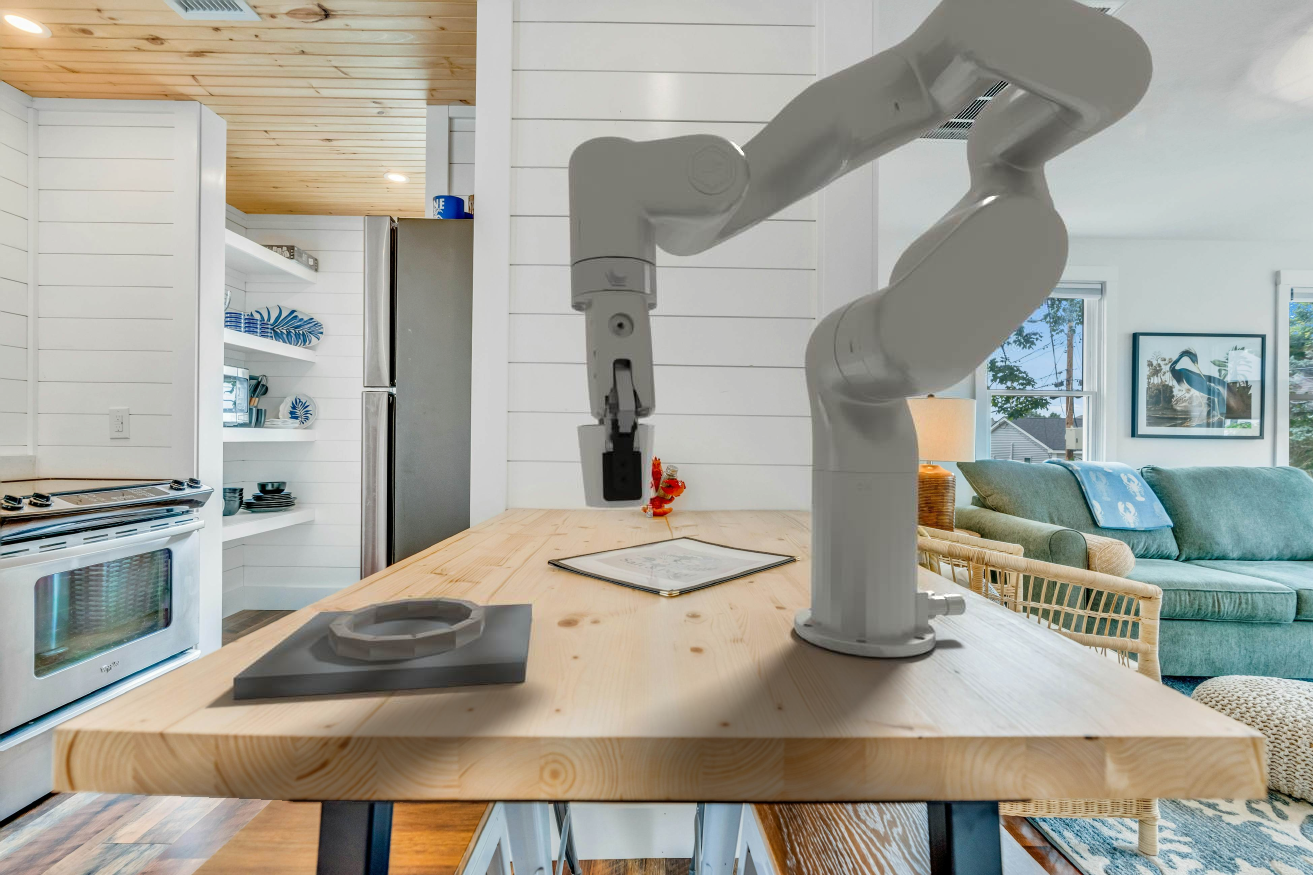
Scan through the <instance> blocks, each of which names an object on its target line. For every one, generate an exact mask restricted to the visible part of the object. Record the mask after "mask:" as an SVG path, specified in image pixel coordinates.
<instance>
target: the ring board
mask: <svg viewBox="0 0 1313 875" xmlns="http://www.w3.org/2000/svg"><path fill="white" fill-rule="evenodd" d="M532 614H533V603H516V604H493V605H492V604H490V605H488V604H487V605H486V604H485V605H480V604H477V603H476V602H473V601H472V600H466V599H459V598H450V597H443V596H441V597H420V598H419V597H418V598H416V597H414V598H411V597H410V598H403V599H397V600H391V601H386V602H385V601H384V602H379V603H372V604H369V605H366V606H363V607H359V608H356V609H354V610H339V611H337V610H336V611H320V612H319V613H318V614H315V615H314V616H313V617H312V618H311V619H309V620H308V621H307V622H305V623H304V624H303V625H301V626H300V627H299V628H297V629H296V630H295V631H293V632H292V633H291V634H290V635H288V636H287V637H286V638H284V639H283V640H282V641H280V642H279V643H277V645H275V646H274V647H272V648H271V649H270V650H268V651H267V652H266V653H264V654H263V655H262V656H261V657H259V658H258V659H256V660H255V661H253V662H252V663H251V664H250V665H248V666H247V667H246V668H244V670H242V671H241V672H239V673H238V674H237V675H235V676H234V677H233V684H232V686H233V689H232V691H233V693H232V697H233V698H232V699H233V700H246V699H260V698H278V697H280V698H281V697H293V696H294V697H295V696H296V697H297V696H309V695H311V696H312V695H325V694H328V695H329V694H343V693H361V692H363V693H364V692H375V691H376V692H377V691H392V690H410V689H424V688H426V689H427V688H440V687H456V686H460V687H461V686H474V685H475V686H476V685H489V684H507V683H509V684H510V683H523V682H526V676H527V665H528V658H529V649H530V639H531V629H532V621H533V615H532Z"/></svg>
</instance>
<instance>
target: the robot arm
mask: <svg viewBox="0 0 1313 875" xmlns="http://www.w3.org/2000/svg"><path fill="white" fill-rule="evenodd" d="M1153 69H1154V67H1153V59H1152V54H1151V51H1150V48H1149V46H1148V45H1147V43H1146V41H1145V40H1144V38H1143V37H1142V36H1141V35H1140V34H1139V32H1137V31H1136V29H1134V28H1133V27H1132V26H1131V25H1129V24H1127V23H1126V22H1124V21H1123V20H1122V19H1119V18H1117V17H1115V16H1113V15H1110V14H1108V13H1106V12H1103V11H1101V10H1098V9H1096V8H1093V7H1091V6H1088V5H1086V4H1084V3H1082V2H1079V1H1076V0H941V2H940V3H939V4H938V5H937V6H936V7H935V8H934V9H933V10H932V12H931V13H930V14H929V15H928V16H927V17H926V18H925V19H924V20H923V21H922V23H921V24H920V25H919V26H918V27H917V28H916V29H915V30H914V32H913V33H912V34H910V35H909V36H908V37H907V38H905V39H903V40H902V41H901V42H899V43H897V44H895V45H893V46H891V47H889V48H887V49H884V50H883V51H881V52H878V53H877V54H874V55H873V56H870V57H868V58H866V59H864V60H862V61H860V62H857V63H855V64H853V65H850V66H849V67H847V68H845V69H842V70H839V71H837V72H835V73H833V74H830V75H828V76H826V77H824V78H821V79H820V80H817V81H815V82H814V83H812V84H810V85H809V86H808V87H807V88H805V89H804V90H802V91H801V92H800V93H799V94H798V95H796V96H795V97H794V98H793V99H792V100H790V101H789V102H788V103H787V104H786V105H784V107H783V108H782V109H781V110H780V111H779V112H778V113H777V114H776V115H775V116H774V117H773V118H772V119H771V120H770V121H769V123H767V125H765V126H764V127H763V128H762V129H761V130H760V131H759V132H758V133H757V134H755V135H754V137H752V138H751V139H750V140H748V141H747V142H746V143H745V144H743V145H742V146H741V147H739V146H737V145H736V143H734V142H733V141H731V140H729V139H728V138H725V137H723V136H719V135H716V134H709V133H708V134H707V133H700V134H699V133H698V134H688V135H687V134H686V135H680V136H673V137H668V138H660V139H653V140H642V141H635V140H632V139H629V138H626V137H621V136H598V137H594V138H591V139H587V140H586V141H584V142H582V143H581V144H579V145H578V146H577V147H576V148H574V149H573V151H572V153H571V155H570V158H569V162H568V172H567V174H568V207H569V208H568V212H569V214H568V215H569V258H570V259H569V260H570V264H569V265H570V267H569V268H570V295H571V296H570V298H571V299H570V304H571V306H570V307H571V308H572V309H571V310H575V312H578V313H583V314H585V315H584V318H585V320H584V321H585V322H584V323H585V351H586V353H585V354H586V358H585V359H586V370H587V371H586V372H587V373H586V374H587V376H586V377H587V388H588V400H589V406H590V407H589V408H590V415H591V417H592V418H594V419H596V420H597V424H604V425H605V449H606V453H602V470H603V498H604V499H605V500H606V501H631V500H640V499H641V498H642V461H641V452H639V451H640V438H639V425H638V424H639V420H641V419H647V418H650V417H651V416H652V415H653V414H654V413H655V411H656V390H655V375H654V374H655V373H654V356H653V339H652V329H651V328H652V327H651V320H650V319H651V317H650V311H653V310H655V309H657V306H658V296H657V295H658V293H657V292H658V291H657V290H658V288H657V285H658V284H657V247H658V248H659V249H661V250H662V251H663V252H665V253H667V254H670V255H672V256H676V257H691V256H696V255H699V254H702V253H703V252H705V251H709V250H711V249H712V248H714V247H717V246H718V245H721V244H722V243H725V242H727V241H729V240H731V239H733V238H734V237H737V236H738V235H740V234H742V233H745V232H746V231H748V230H750V229H753V227H755V226H757V225H760V224H762V223H763V222H764V221H766V220H768V219H770V218H772V217H774V215H776V214H778V213H780V212H782V211H783V210H785V209H786V208H789V207H790V206H792V205H794V204H796V203H797V202H799V201H802V200H803V199H805V198H807V197H809V196H811V195H814V194H815V193H817V192H819V191H820V190H823V189H824V188H825V187H827V186H829V185H831V184H832V183H834V182H835V181H836V180H838V179H839V178H842V177H843V176H846V175H847V174H849V173H851V172H853V171H856V170H857V169H859V168H861V167H863V166H864V165H867V164H868V163H869V164H870V162H872V161H874V160H876V159H879V158H880V157H883V156H884V155H887V154H889V153H891V152H893V151H895V150H897V149H898V148H900V147H904V146H905V145H907V144H910V143H911V142H913V141H915V140H917V139H919V138H921V137H923V136H925V135H927V134H929V133H931V132H934V131H935V130H936V129H939V128H940V127H942V126H944V125H945V124H947V123H948V122H949V121H951V120H952V119H954V118H955V117H956V116H958V115H959V114H960V113H962V112H963V111H964V110H965V109H967V108H968V107H969V106H970V105H972V104H973V103H974V102H975V101H976V100H978V99H979V98H980V97H982V96H984V94H985V93H987V91H989V90H991V89H992V88H993V87H994V86H996V84H998V83H999V82H1001V81H1003V82H1005V83H1007V84H1008V85H1006V86H1005V87H1004V88H1003V89H1001V90H1000V91H998V93H996V94H995V95H994V96H993V97H992V98H991V99H990V100H988V101H987V103H986V104H985V105H984V106H983V107H982V109H981V110H980V111H979V112H978V114H977V116H976V117H975V119H974V120H973V122H972V125H971V127H970V129H969V133H968V136H967V142H966V158H967V160H966V161H967V166H968V170H969V175H970V176H969V177H970V188H969V189H968V191H967V192H966V193H965V194H964V195H963V196H962V198H961V199H959V201H958V202H957V203H955V205H953V207H951V208H950V209H949V210H948V211H947V212H946V213H945V214H944V215H942V217H941V218H939V220H937V221H936V222H935V223H933V225H932V226H931V227H930V228H928V229H927V230H926V231H924V233H922V234H921V235H920V236H919V237H918V238H916V239H915V240H914V241H913V242H911V243H910V244H909V246H908V247H907V248H906V249H905V250H904V251H903V252H902V254H901V255H900V257H898V260H896V263H895V264H894V266H893V268H892V271H891V274H890V277H889V280H888V285H887V286H886V287H883V288H880V289H878V290H876V291H874V292H872V293H869V294H867V295H864V296H861V297H859V298H857V299H855V300H853V301H850V302H848V303H845V304H843V305H842V306H839V307H838V308H836V309H834V310H833V311H831V312H830V313H829V314H828V315H826V316H825V317H824V318H822V320H820V322H819V323H818V324H817V325H816V327H815V328H814V329H813V331H812V333H811V334H810V337H809V339H808V342H807V345H806V350H805V354H804V373H805V381H806V388H807V394H808V400H809V406H810V409H809V410H810V415H811V416H810V417H811V436H812V438H811V439H812V443H811V445H812V447H811V448H812V450H811V451H812V460H811V461H812V463H811V464H812V466H811V467H812V469H811V528H810V529H811V532H810V533H811V541H810V543H811V544H810V545H811V546H810V547H811V548H810V549H811V552H810V555H811V556H810V607H808V608H804V609H802V610H800V611H799V612H797V613H796V614H795V616H794V618H793V622H794V625H793V626H794V627H793V628H794V630H795V632H796V634H797V635H799V636H800V637H801V638H802V639H804V640H805V641H807V642H809V643H811V644H814V645H816V646H818V647H821V648H824V649H827V650H829V651H830V650H831V651H835V652H838V653H843V654H849V655H855V656H861V657H872V658H904V657H905V658H907V657H913V656H917V655H922V654H924V653H927V652H929V651H931V650H932V649H933V648H934V647H935V646H936V643H937V641H936V639H937V638H936V637H937V636H936V632H937V631H936V630H935V629H934V627H933V626H932V625H931V624H929V620H930V621H931V620H934V619H935V618H936V617H937V616H939V615H940V616H945V617H946V616H947V617H949V616H962V615H964V614H965V613H966V610H967V609H966V608H967V605H966V602H965V599H964V598H963V596H962V595H960V594H958V593H956V594H954V593H953V594H939V595H935V593H934V591H932V590H927V591H926V590H924V589H922V588H919V587H918V586H919V584H918V583H919V582H918V581H919V580H918V574H919V573H918V572H919V571H918V570H919V568H918V567H919V566H918V565H919V563H918V562H919V560H918V558H919V548H918V547H919V546H918V545H919V472H920V454H919V453H920V450H919V442H918V440H919V439H918V433H917V429H916V425H915V421H914V419H913V415H912V413H911V409H910V406H909V403H908V400H907V398H914V397H921V396H927V395H932V394H936V393H939V392H942V391H945V390H947V389H950V388H952V387H953V386H956V385H957V384H959V383H961V381H963V380H964V379H966V378H967V377H968V376H969V375H971V374H972V373H973V372H974V371H976V370H977V369H978V368H979V367H980V366H981V365H982V364H983V363H984V362H985V361H987V359H989V357H990V356H991V355H993V353H995V352H996V350H998V349H999V348H1000V346H1002V345H1003V344H1004V343H1005V342H1006V341H1007V340H1008V339H1009V338H1010V337H1011V336H1012V335H1013V334H1014V333H1015V332H1016V331H1017V330H1018V329H1019V328H1020V326H1022V325H1023V324H1024V323H1025V322H1026V321H1027V320H1028V319H1029V318H1030V317H1031V316H1032V315H1033V314H1034V313H1035V312H1036V311H1037V310H1038V309H1039V308H1040V307H1041V306H1042V304H1043V303H1044V302H1045V301H1046V300H1048V298H1049V297H1050V296H1051V295H1052V293H1053V292H1054V290H1055V289H1056V287H1057V286H1058V284H1059V283H1060V281H1061V278H1062V276H1063V273H1064V271H1065V268H1066V266H1067V263H1068V262H1067V261H1068V257H1069V246H1070V245H1069V235H1068V230H1067V226H1066V224H1065V221H1064V219H1063V218H1062V216H1061V214H1060V212H1058V211H1057V210H1056V207H1055V204H1054V200H1053V198H1052V196H1051V194H1050V190H1049V189H1050V188H1049V186H1048V183H1047V178H1046V174H1045V165H1046V163H1047V162H1049V161H1051V160H1052V159H1054V158H1056V157H1058V156H1060V155H1061V154H1063V153H1065V152H1066V151H1068V150H1070V149H1071V148H1074V147H1075V146H1077V145H1079V144H1081V143H1083V142H1084V141H1086V140H1088V139H1090V138H1091V137H1093V136H1095V135H1097V134H1098V133H1101V132H1102V131H1104V130H1106V129H1108V128H1109V127H1112V126H1113V125H1115V124H1116V123H1117V122H1119V121H1120V120H1122V119H1123V118H1124V117H1126V116H1127V115H1129V113H1132V111H1133V110H1134V109H1135V108H1136V107H1137V106H1138V105H1139V104H1140V102H1141V101H1142V100H1143V98H1144V96H1145V95H1146V94H1147V92H1148V89H1149V87H1150V84H1151V82H1152V79H1153V72H1154V70H1153ZM612 430H613V435H612Z"/></svg>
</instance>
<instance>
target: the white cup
mask: <svg viewBox="0 0 1313 875" xmlns="http://www.w3.org/2000/svg"><path fill="white" fill-rule="evenodd" d="M638 425H639V438H640V451H639V452H641V461H642V498H641V499H640V500H631V501H606V500H605V499H604V498H603V470H602V453H606V449H605V425H604V424H598V423H597V424H583V425H579V426H577V427H576V428H577V437H578V448H579V456H580V464H581V473H582V482H583V490H584V499H585V506H587V507H591V508H598V509H599V508H602V509H620V508H621V509H622V508H623V509H624V508H636V507H644V506H649V505H650V503H651V489H652V488H651V487H652V473H653V472H652V470H653V458H654V456H653V455H654V442H655V428H656V427H655V425H656V424H651V423H638ZM612 435H613V430H612Z"/></svg>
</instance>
